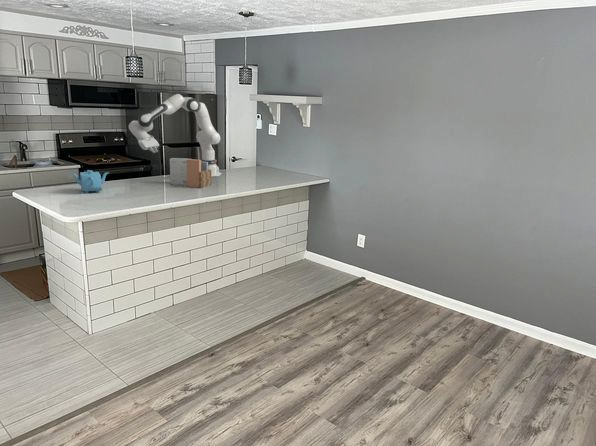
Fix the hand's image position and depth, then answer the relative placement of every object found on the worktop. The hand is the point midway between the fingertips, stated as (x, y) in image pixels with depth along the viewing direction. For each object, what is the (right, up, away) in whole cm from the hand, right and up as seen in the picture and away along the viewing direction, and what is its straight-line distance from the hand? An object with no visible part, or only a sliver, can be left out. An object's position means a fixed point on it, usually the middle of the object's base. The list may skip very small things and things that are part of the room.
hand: (155, 152), depth 353 cm
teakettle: (-32, -34, -40) cm, 62 cm away
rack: (+40, -27, -3) cm, 48 cm away
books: (+34, -27, -2) cm, 43 cm away
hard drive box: (+20, -25, +1) cm, 32 cm away
